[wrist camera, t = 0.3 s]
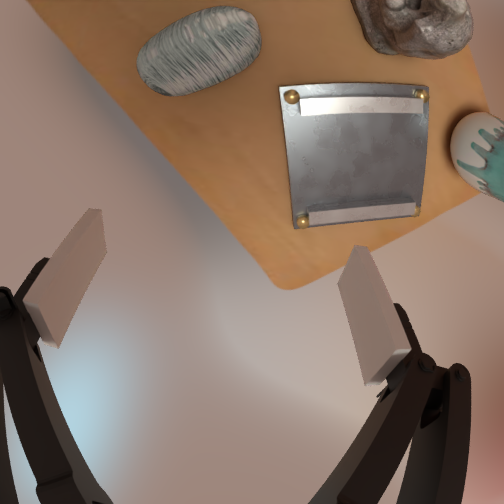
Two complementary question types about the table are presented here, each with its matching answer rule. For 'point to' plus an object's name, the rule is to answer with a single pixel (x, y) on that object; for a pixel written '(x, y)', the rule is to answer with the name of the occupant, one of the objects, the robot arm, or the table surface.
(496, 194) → the vase
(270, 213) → the table surface
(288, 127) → the carrier
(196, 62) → the grey rock
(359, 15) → the figurine
